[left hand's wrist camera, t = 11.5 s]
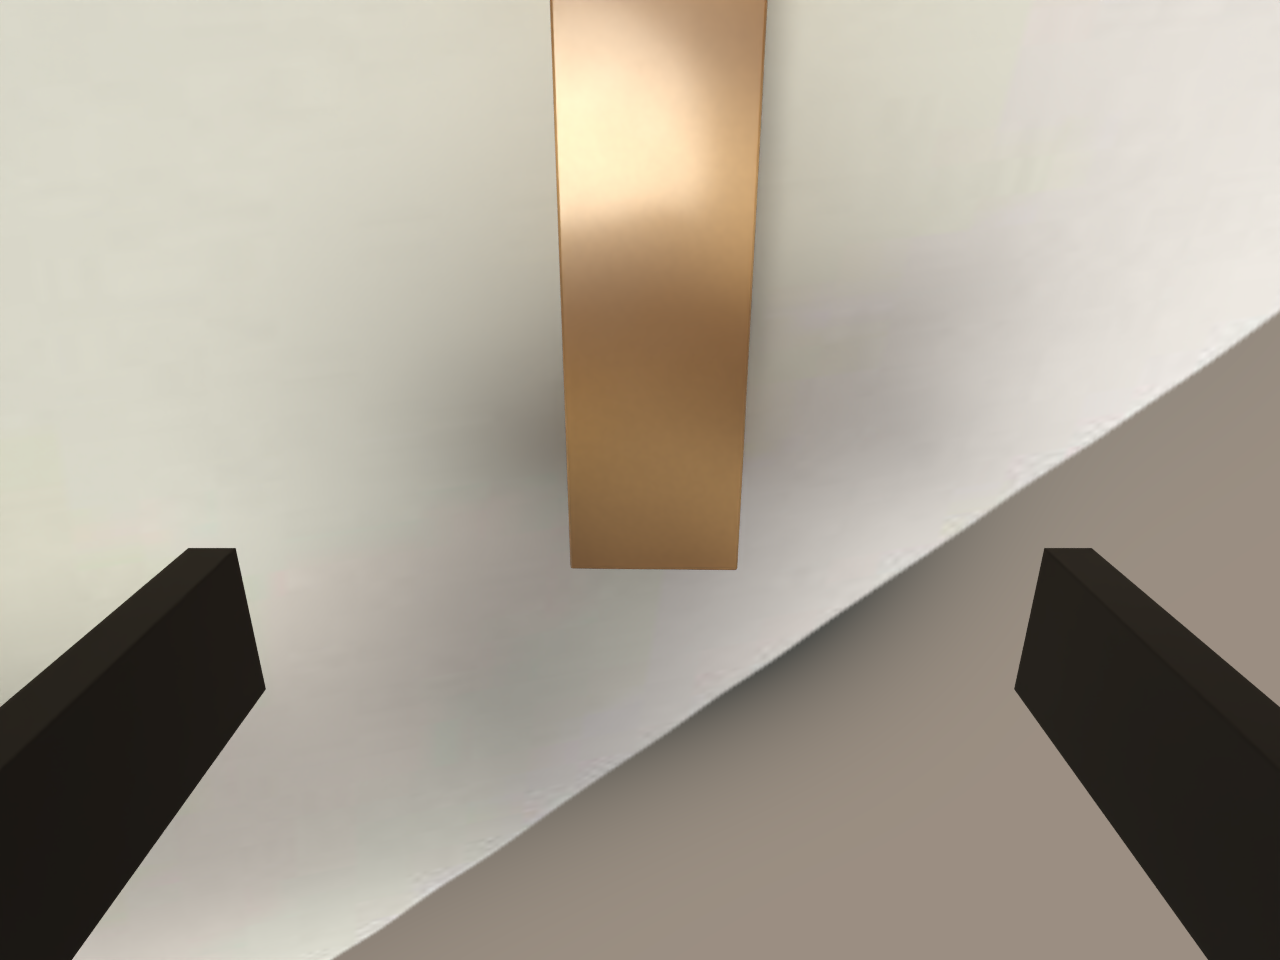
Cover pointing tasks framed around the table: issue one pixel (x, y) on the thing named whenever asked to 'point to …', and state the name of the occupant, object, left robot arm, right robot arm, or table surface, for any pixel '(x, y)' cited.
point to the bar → (656, 271)
